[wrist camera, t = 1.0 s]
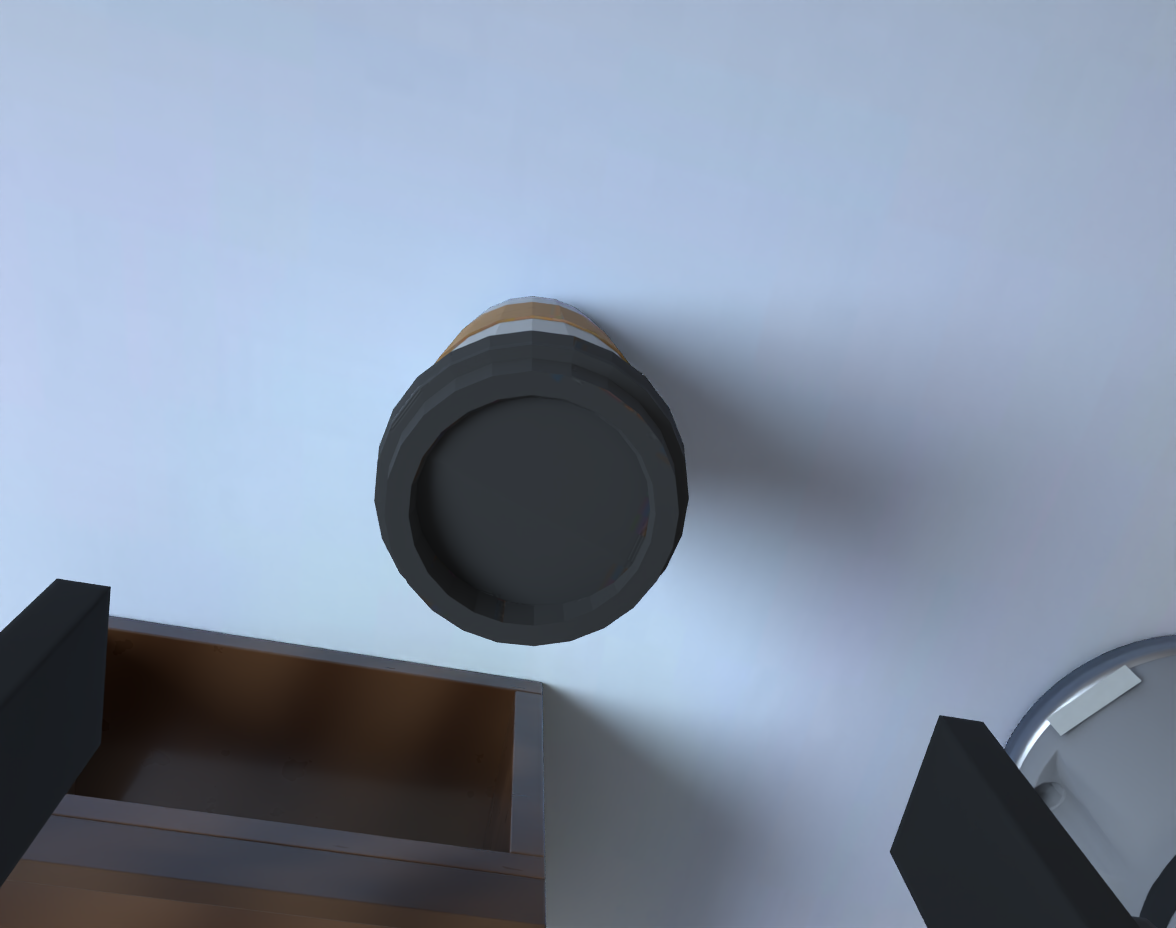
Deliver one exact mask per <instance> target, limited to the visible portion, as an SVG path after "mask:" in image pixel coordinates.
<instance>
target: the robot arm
mask: <svg viewBox="0 0 1176 928" xmlns="http://www.w3.org/2000/svg"><path fill="white" fill-rule="evenodd" d="M110 589H111V587H108V586H101V585H95V584H89V583H82V582H76V581H69V580H63V579H56V580H55V581H54V582H53V583H52V584H51V585H50V586H49V587H48V588H46V589H45V590H44V591H43V592H42V593H41V594H40V595H39V596H38V597H37V598H36V599H35V600H34V601H33V602H32V603H31V604H30V605H29V606H27V607H26V608H25V609H24V610H23V611H22V612H21V613H20V614H19V615H18V616H17V617H16V618H15V619H14V620H13V621H12V622H11V623H10V624H9V625H7V626H6V627H5V628H4V629H3V630H2V631H1V632H0V888H1V886H2V885H3V883H4V882H5V881H6V879H7V878H8V876H9V875H10V873H11V872H12V871H13V869H14V868H15V866H16V865H17V863H18V862H19V861H20V859H21V858H22V856H23V855H24V853H25V852H26V850H27V849H28V848H29V846H30V845H31V843H32V842H33V840H34V839H35V838H36V836H37V835H38V833H39V832H40V830H41V829H42V828H43V826H44V825H45V823H46V822H47V820H48V819H49V818H50V816H51V815H52V813H53V812H54V810H55V809H56V808H57V806H58V805H59V803H60V802H61V800H62V799H63V798H64V796H65V795H66V793H67V792H68V790H69V789H70V787H71V786H72V785H73V783H74V782H75V780H76V779H77V777H78V776H79V775H80V773H81V772H82V770H83V769H84V767H85V766H86V765H87V763H88V762H89V760H90V759H91V757H92V756H93V755H94V753H95V752H96V750H97V749H98V747H99V746H100V745H101V733H102V717H103V701H104V685H105V669H106V653H107V637H108V621H109V605H110ZM890 853H891V855H892V857H893V859H894V861H895V863H896V865H897V867H898V869H899V871H900V873H901V875H902V877H903V879H904V881H905V883H906V885H907V887H908V889H909V891H910V893H911V895H912V897H913V899H914V901H915V903H916V905H917V908H918V910H919V912H920V914H921V916H922V918H923V920H924V922H925V924H926V926H927V928H1176V635H1172V636H1164V637H1157V638H1151V639H1147V640H1143V641H1138V642H1135V643H1131V644H1128V645H1125V646H1122V647H1119V648H1117V649H1114V650H1112V651H1110V652H1107V653H1105V654H1102V655H1100V656H1099V657H1097V658H1095V659H1093V660H1091V661H1089V662H1087V663H1085V664H1084V665H1082V666H1080V667H1079V668H1077V669H1076V670H1074V671H1072V672H1071V673H1070V674H1068V675H1067V676H1065V677H1064V678H1063V679H1061V680H1060V681H1059V682H1057V683H1056V684H1055V685H1054V686H1053V687H1052V688H1051V689H1049V690H1048V691H1047V692H1046V693H1045V694H1044V695H1043V696H1042V697H1041V698H1040V699H1039V700H1038V701H1037V702H1036V703H1035V704H1034V705H1033V706H1032V707H1031V709H1030V710H1029V711H1028V712H1027V714H1026V715H1025V716H1024V717H1023V719H1022V720H1021V721H1020V723H1019V724H1018V726H1017V727H1016V729H1015V730H1014V732H1013V734H1012V735H1011V737H1010V739H1009V741H1008V742H1007V744H1006V746H1005V749H1003V747H1002V746H1001V745H1000V743H999V742H998V741H997V740H996V738H995V737H994V736H993V734H992V733H991V732H990V730H989V729H988V728H987V726H986V725H985V724H984V722H980V721H974V720H967V719H961V718H954V717H948V716H941V715H939V718H938V721H937V724H936V726H935V729H934V732H933V735H932V737H931V740H930V743H929V746H928V748H927V751H926V754H925V757H924V759H923V762H922V765H921V768H920V770H919V773H918V776H917V779H916V781H915V784H914V787H913V790H912V792H911V795H910V798H909V801H908V803H907V806H906V809H905V812H904V814H903V817H902V820H901V823H900V825H899V828H898V831H897V834H896V836H895V839H894V842H893V845H892V847H891V850H890Z"/></svg>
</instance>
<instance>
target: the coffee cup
mask: <svg viewBox="0 0 1176 928" xmlns="http://www.w3.org/2000/svg"><path fill="white" fill-rule="evenodd" d="M688 500H689V495H688V485H687V474H686V463H685V454H684V445H683V442H682V439H681V437H680V434H679V432H678V429H677V427H676V424H675V422H674V419H673V416H672V414H671V411H670V409H669V407H668V406H667V405H666V403H665V402H664V401H663V399H662V398H661V397H660V395H659V394H658V393H657V391H656V390H655V389H654V387H653V386H652V385H651V383H650V382H649V381H648V380H647V378H646V377H645V376H644V375H642V374H641V373H640V372H639V371H637V370H636V369H635V368H633V367H632V366H631V365H630V364H629V363H628V361H627V360H626V359H625V357H624V356H623V355H622V353H621V352H620V351H619V350H618V348H617V347H616V346H615V345H614V344H613V342H612V341H611V340H610V339H609V337H608V336H607V335H606V334H605V332H604V331H603V330H601V329H600V328H599V327H597V326H596V325H595V324H594V322H593V321H592V320H590V319H589V318H588V317H587V316H585V315H584V314H583V313H581V312H580V311H579V310H578V309H576V308H575V307H572V306H570V305H568V304H565V303H563V302H560V301H558V300H556V299H550V298H543V297H535V296H530V297H522V298H514V299H509V300H507V301H504V302H502V303H500V304H497V305H495V306H492V307H490V308H489V309H487V310H486V311H485V312H483V313H482V314H481V315H480V316H478V317H477V318H476V319H475V320H473V321H472V322H471V323H470V324H469V325H468V326H466V327H465V328H464V329H463V330H462V331H461V332H460V333H459V335H458V336H457V337H456V338H455V339H454V340H453V342H452V343H451V344H450V345H449V346H448V348H447V349H446V350H445V351H444V352H443V354H442V355H441V356H440V357H439V359H438V360H437V361H436V363H435V364H434V365H433V366H431V367H430V368H429V369H427V370H426V371H425V372H424V373H422V374H421V375H420V376H418V377H417V378H416V380H415V381H414V382H413V384H412V385H411V386H410V388H409V389H408V391H407V392H406V393H405V395H404V396H403V397H402V399H401V400H400V401H399V403H398V404H397V405H396V407H395V408H394V409H393V411H392V414H391V417H390V419H389V422H388V425H387V427H386V430H385V433H384V435H383V438H382V441H381V443H380V446H379V455H378V462H377V475H376V487H375V500H374V501H375V506H376V511H377V516H378V521H379V526H380V531H381V536H382V539H383V541H384V543H385V545H386V547H387V549H388V551H389V553H390V555H391V557H392V559H393V561H394V563H395V565H396V567H397V569H398V571H399V572H400V574H401V575H402V576H403V577H404V578H405V579H406V581H407V583H408V584H409V585H410V586H411V587H412V589H413V590H414V591H415V592H416V593H417V594H418V595H419V596H420V597H421V598H422V600H423V601H424V602H425V603H426V604H427V605H428V606H429V607H430V608H431V609H432V610H433V611H434V612H436V613H437V614H439V615H440V616H442V617H443V618H445V619H446V620H448V621H449V622H451V623H452V624H454V625H456V626H457V627H459V628H460V629H462V630H463V631H466V632H469V633H472V634H475V635H478V636H481V637H484V638H486V639H489V640H492V641H495V642H499V643H509V644H519V645H529V646H538V645H545V644H553V643H560V642H568V641H572V640H575V639H577V638H580V637H582V636H585V635H588V634H590V633H593V632H595V631H598V630H600V629H603V628H605V627H606V626H608V625H609V624H611V623H612V622H614V621H615V620H617V619H618V618H619V617H621V616H622V615H624V614H625V613H627V612H628V611H629V610H631V609H632V608H634V607H635V606H636V604H637V603H638V602H639V601H640V600H641V599H642V597H643V596H644V595H645V594H646V593H647V592H648V590H649V589H650V588H651V587H652V586H653V585H654V583H655V582H656V581H657V580H658V578H659V576H660V575H661V574H662V573H663V572H664V571H665V569H666V567H667V565H668V563H669V561H670V559H671V557H672V555H673V553H674V551H675V549H676V547H677V545H678V542H679V540H680V538H681V536H682V532H683V527H684V521H685V516H686V510H687V505H688Z"/></svg>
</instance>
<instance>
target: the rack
mask: <svg viewBox="0 0 1176 928" xmlns="http://www.w3.org/2000/svg"><path fill="white" fill-rule="evenodd" d="M542 695H543V691H542V683H541V682H535V681H528V680H522V679H515V678H509V677H502V676H496V675H489V674H483V673H476V672H470V671H463V670H457V669H450V668H444V667H437V666H431V665H424V664H418V663H411V662H405V661H398V660H392V659H385V658H379V657H372V656H366V655H359V654H353V653H346V652H340V651H333V650H327V649H320V648H314V647H307V646H301V645H294V644H288V643H281V642H275V641H268V640H262V639H255V638H249V637H242V636H236V635H229V634H223V633H216V632H210V631H203V630H197V629H190V628H184V627H177V626H171V625H164V624H158V623H151V622H145V621H138V620H132V619H125V618H119V617H112V616H109V621H108V637H107V653H106V669H105V685H104V701H103V717H102V733H101V745H100V746H99V747H98V749H97V750H96V752H95V753H94V755H93V756H92V757H91V759H90V760H89V762H88V763H87V765H86V766H85V767H84V769H83V770H82V772H81V773H80V775H79V776H78V777H77V779H76V780H75V782H74V783H73V785H72V786H71V787H70V789H69V790H68V792H67V793H66V795H65V796H64V798H63V799H62V800H61V802H60V803H59V805H58V806H57V808H56V809H55V810H54V812H53V813H52V815H51V816H50V818H49V819H48V820H47V822H46V823H45V825H44V826H43V828H42V829H41V830H40V832H39V833H38V835H37V836H36V838H35V839H34V840H33V842H32V843H31V845H30V846H29V848H28V849H27V850H26V852H25V853H24V855H23V856H22V858H21V859H20V861H19V862H18V863H17V865H16V866H15V868H14V869H13V871H12V872H11V873H10V875H9V876H8V878H7V879H6V881H5V882H4V883H3V885H2V886H1V888H0V928H546V890H545V824H544V757H543V696H542Z"/></svg>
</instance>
